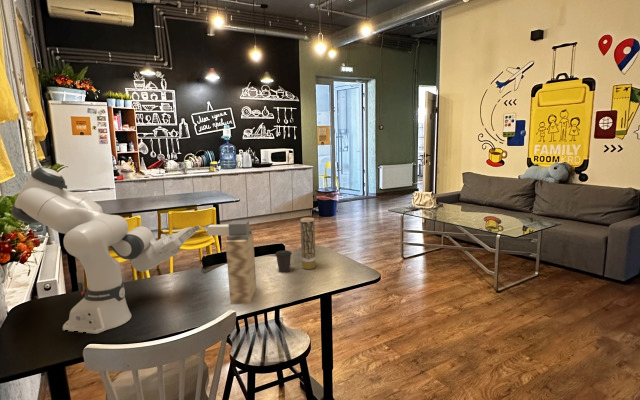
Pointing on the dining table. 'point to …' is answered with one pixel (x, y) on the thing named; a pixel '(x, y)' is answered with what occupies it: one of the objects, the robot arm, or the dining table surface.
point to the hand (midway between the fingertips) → (195, 229)
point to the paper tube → (308, 243)
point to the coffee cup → (283, 260)
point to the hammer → (230, 229)
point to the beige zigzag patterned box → (241, 268)
